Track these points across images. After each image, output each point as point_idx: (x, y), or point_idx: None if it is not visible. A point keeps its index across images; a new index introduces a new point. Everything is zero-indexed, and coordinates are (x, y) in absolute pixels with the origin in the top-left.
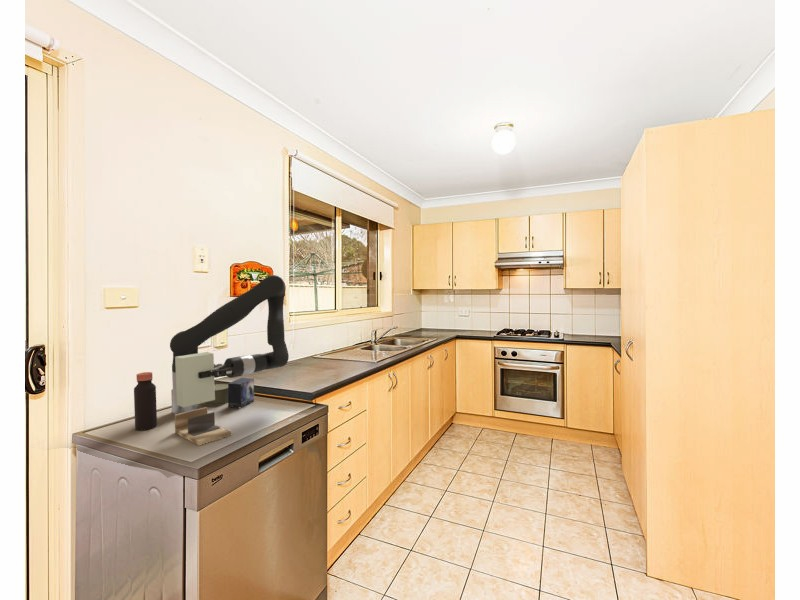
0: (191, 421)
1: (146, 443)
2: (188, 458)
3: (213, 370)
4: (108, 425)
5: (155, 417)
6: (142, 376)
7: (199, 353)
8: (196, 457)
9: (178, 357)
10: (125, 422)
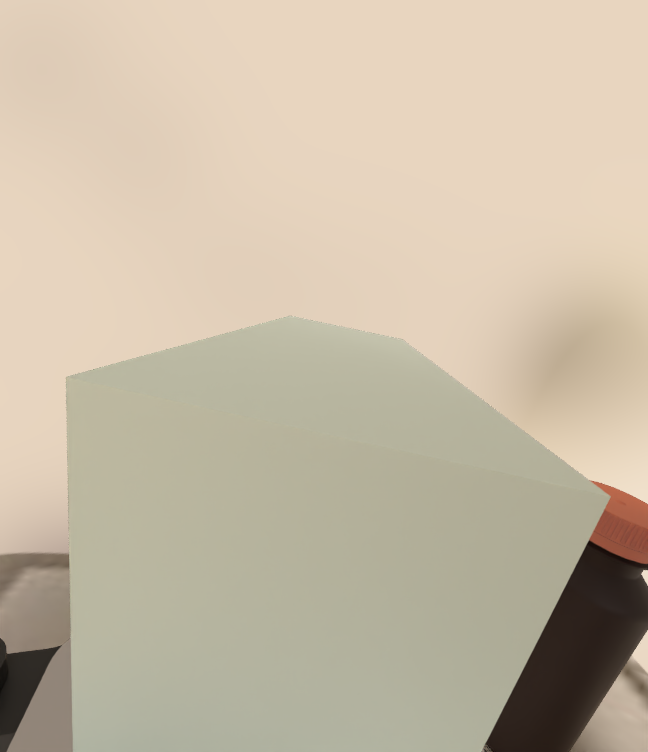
0: None
1: None
2: (53, 580)
3: (41, 679)
4: None
5: (506, 717)
6: None
7: (435, 385)
8: (19, 596)
9: (347, 328)
10: (629, 705)
